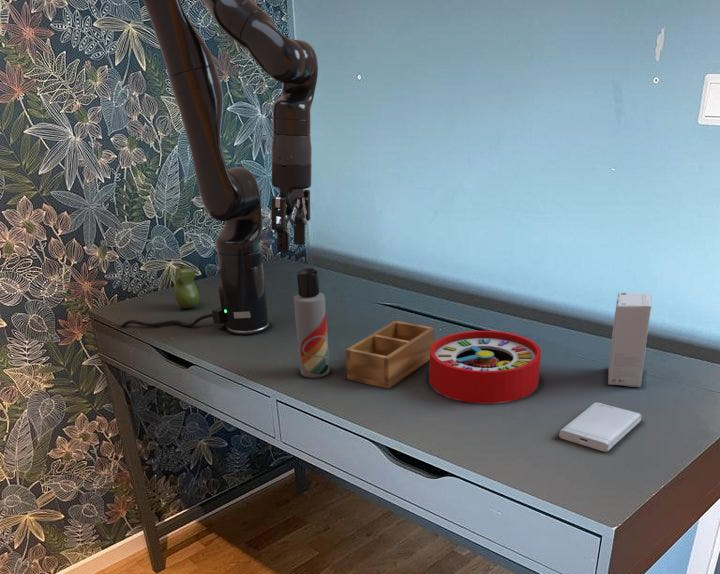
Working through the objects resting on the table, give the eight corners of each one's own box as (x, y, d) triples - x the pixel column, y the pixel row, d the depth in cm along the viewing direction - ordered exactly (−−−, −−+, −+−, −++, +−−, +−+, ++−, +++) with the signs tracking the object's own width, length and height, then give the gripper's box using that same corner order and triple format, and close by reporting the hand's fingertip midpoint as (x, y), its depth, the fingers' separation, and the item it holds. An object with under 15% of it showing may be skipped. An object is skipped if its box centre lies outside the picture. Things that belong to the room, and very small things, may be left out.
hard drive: (594, 401, 130) (559, 428, 122) (642, 413, 125) (608, 443, 117) (593, 410, 131) (558, 438, 123) (640, 423, 126) (607, 452, 118)
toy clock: (563, 358, 135) (464, 381, 129) (560, 389, 138) (463, 412, 132) (502, 323, 151) (410, 342, 145) (500, 351, 154) (411, 371, 148)
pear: (192, 302, 189) (186, 261, 184) (205, 307, 186) (199, 265, 180) (173, 308, 185) (166, 267, 180) (186, 313, 182) (179, 271, 177)
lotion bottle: (325, 379, 146) (318, 274, 136) (296, 377, 147) (287, 274, 137) (332, 367, 151) (326, 265, 141) (304, 365, 152) (296, 264, 142)
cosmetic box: (640, 388, 137) (653, 307, 129) (605, 385, 139) (616, 305, 131) (641, 369, 144) (653, 291, 136) (607, 367, 146) (617, 290, 138)
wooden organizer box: (347, 379, 146) (345, 349, 143) (395, 348, 158) (394, 320, 155) (388, 389, 141) (388, 358, 138) (434, 356, 154) (435, 327, 150)
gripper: (287, 156, 153) (287, 240, 160) (257, 161, 141) (259, 252, 148) (323, 159, 151) (321, 244, 158) (296, 165, 139) (295, 256, 146)
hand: (291, 248), depth 153 cm, fingers open, 8 cm apart
